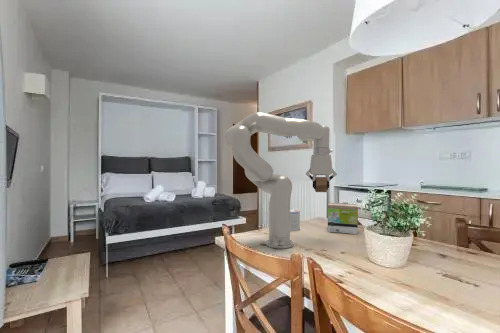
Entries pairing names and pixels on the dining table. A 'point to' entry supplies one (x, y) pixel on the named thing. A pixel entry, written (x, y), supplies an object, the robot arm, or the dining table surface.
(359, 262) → the dining table surface
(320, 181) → the walnut block
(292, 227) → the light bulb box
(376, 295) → the dining table surface
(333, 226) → the tea box
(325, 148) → the robot arm
